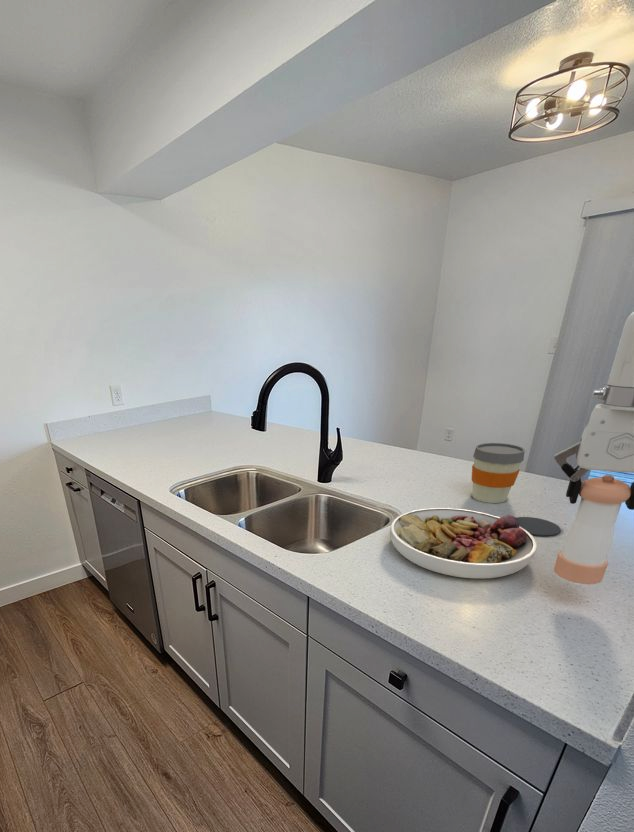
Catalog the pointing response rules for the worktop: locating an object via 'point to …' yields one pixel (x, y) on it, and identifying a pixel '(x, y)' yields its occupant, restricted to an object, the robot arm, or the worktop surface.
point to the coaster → (538, 526)
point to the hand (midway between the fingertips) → (600, 503)
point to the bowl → (463, 542)
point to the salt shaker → (592, 530)
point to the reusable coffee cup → (495, 471)
